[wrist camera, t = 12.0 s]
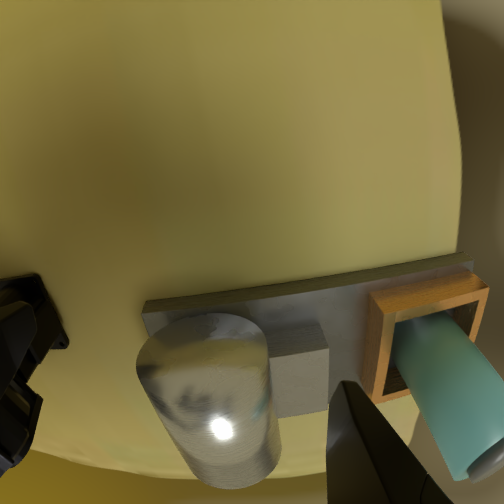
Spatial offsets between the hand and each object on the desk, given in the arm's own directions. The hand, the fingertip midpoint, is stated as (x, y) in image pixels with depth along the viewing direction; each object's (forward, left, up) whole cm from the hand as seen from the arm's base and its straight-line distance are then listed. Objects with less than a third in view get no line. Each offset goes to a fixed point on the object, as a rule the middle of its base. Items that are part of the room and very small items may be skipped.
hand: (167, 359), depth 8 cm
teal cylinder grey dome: (+14, -10, -10) cm, 20 cm away
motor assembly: (+7, -10, -12) cm, 17 cm away
